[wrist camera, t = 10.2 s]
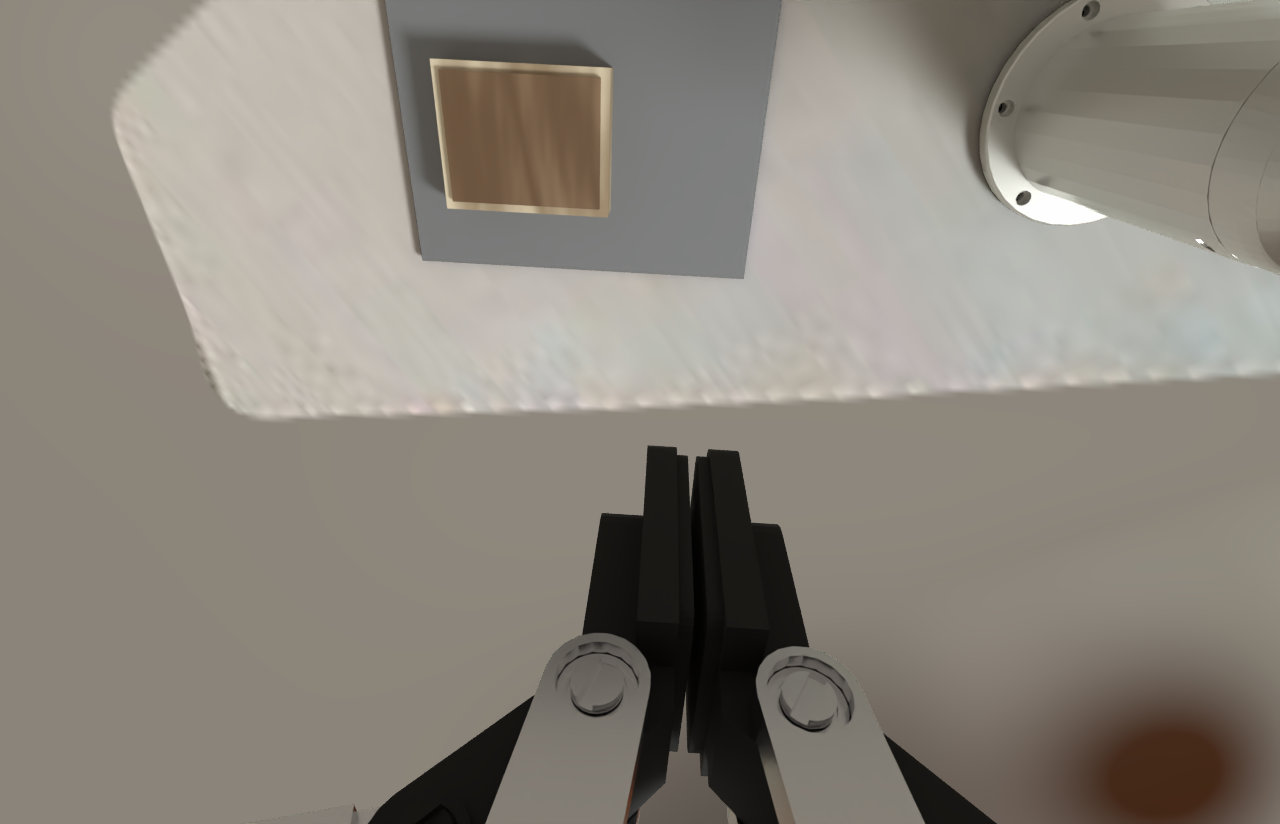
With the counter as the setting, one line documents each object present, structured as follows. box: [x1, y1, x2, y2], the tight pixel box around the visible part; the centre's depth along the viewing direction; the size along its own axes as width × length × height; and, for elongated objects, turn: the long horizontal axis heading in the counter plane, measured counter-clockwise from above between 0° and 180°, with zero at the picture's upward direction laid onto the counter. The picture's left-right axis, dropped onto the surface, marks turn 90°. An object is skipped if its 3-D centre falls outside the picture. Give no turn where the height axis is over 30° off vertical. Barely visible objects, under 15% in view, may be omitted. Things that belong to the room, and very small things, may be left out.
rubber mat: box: [385, 0, 782, 279], centre depth 36 cm, size 22×16×1 cm
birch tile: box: [430, 59, 613, 217], centre depth 35 cm, size 2×8×10 cm
